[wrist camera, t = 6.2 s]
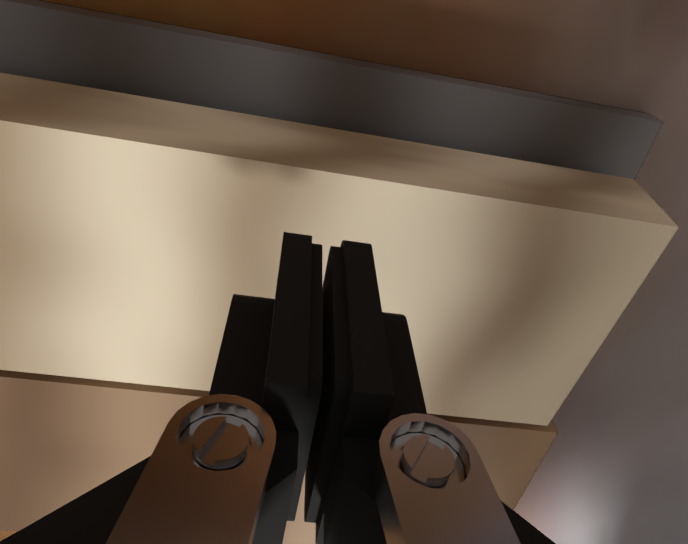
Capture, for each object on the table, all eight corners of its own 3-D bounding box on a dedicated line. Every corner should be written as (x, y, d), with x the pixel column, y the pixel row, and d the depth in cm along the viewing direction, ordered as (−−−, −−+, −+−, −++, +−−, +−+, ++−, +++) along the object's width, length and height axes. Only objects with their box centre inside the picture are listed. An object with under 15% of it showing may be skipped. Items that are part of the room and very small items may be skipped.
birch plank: (634, 179, 15) (678, 227, 13) (525, 369, 20) (547, 425, 18) (-95, 56, 13) (-171, 93, 11) (-22, 306, 18) (-66, 363, 16)
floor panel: (648, 113, 16) (717, 154, 13) (465, 492, 25) (483, 562, 23) (-94, -25, 13) (-201, -10, 11) (11, 454, 23) (-32, 527, 20)
